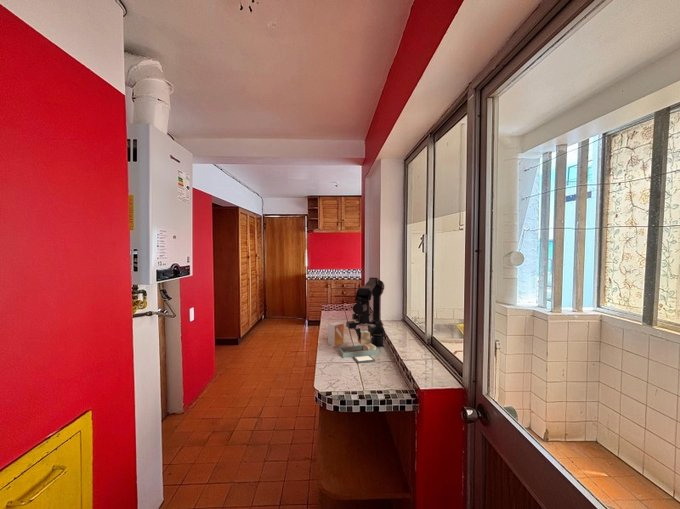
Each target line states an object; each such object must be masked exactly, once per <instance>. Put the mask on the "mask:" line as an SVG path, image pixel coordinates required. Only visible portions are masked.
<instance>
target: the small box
mask: <svg viewBox="0 0 680 509" xmlns="http://www.w3.org/2000/svg"><path fill="white" fill-rule="evenodd" d="M344 328H345V323H343V322H341V321H335V322H331V323H328V325H327V344H328V346H329V345H330V346H333V347H337V346H340V345H343V344H344V339H345V338H344V336H345V335H344V334H345V329H344Z"/></svg>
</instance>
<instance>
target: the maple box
mask: <svg viewBox="0 0 680 509" xmlns="http://www.w3.org/2000/svg"><path fill="white" fill-rule="evenodd" d="M362 345H363V350H362V351H367V350H376V348H377V347H376V346H374V345H373V344H371V342H370V344H362Z"/></svg>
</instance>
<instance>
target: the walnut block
mask: <svg viewBox="0 0 680 509" xmlns="http://www.w3.org/2000/svg"><path fill="white" fill-rule="evenodd" d="M357 342H358V344H360V345H363V344H370V343H371V337H370V332H369V331H368V329H365V330H364V329H363V330H361V329H360V340H359V339H358V338H357Z"/></svg>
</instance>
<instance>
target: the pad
mask: <svg viewBox="0 0 680 509" xmlns="http://www.w3.org/2000/svg"><path fill="white" fill-rule="evenodd" d="M352 360H353V361H355V363H357V364H366V363H367V364H368V363H376V359H375V358H373V357H372V355H366V356H356V357H352Z"/></svg>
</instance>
